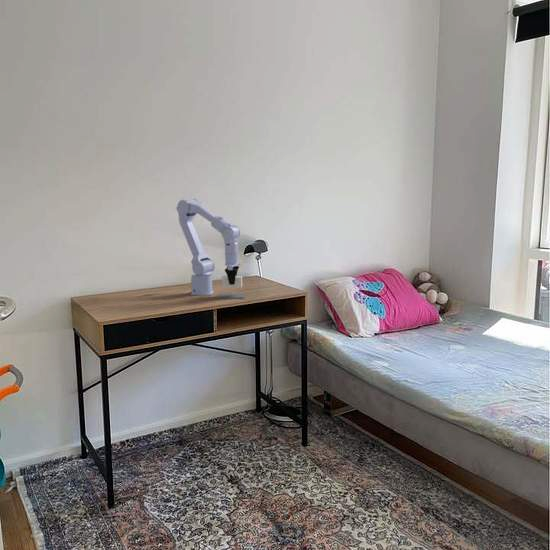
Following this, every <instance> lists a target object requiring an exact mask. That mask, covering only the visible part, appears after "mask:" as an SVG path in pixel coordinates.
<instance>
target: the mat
mask: <svg viewBox="0 0 550 550" xmlns="http://www.w3.org/2000/svg"><path fill="white" fill-rule="evenodd" d="M246 294H247V293H246V292H230V293H229V292H227V293H223V292H222V293H219V294H218V295H217V297H216V298H217V299H245V297H246Z"/></svg>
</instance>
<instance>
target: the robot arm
mask: <svg viewBox="0 0 550 550" xmlns="http://www.w3.org/2000/svg"><path fill="white" fill-rule="evenodd" d="M175 209H176V211H177V214H178V222H179V225H180V228H181V230H182V232H183V235H184V238H185V239H186V242H187V244H188V248H189V250H190V252H191V255H192V259H191V260H190V262H191V263H190V264H191V269H192V271H193V273H194V274H191V278H190V287H191V288H190V289H191V296H212V295H214V292H215V290H213V277H212V275H213V272H214V270H215V262H214V261H213V260H212V258H211V257H210V255H209V254H207V253H205V251H204V248H203V245H202V243H201V241H200V238H199V236H198V233H197V231H196V228H195V226H194V224H193V220H194V217H196V215H199V216H201V217H202V218H203V219H206V220H207V221H208V222H210V226H211V227H212V228H213V229H214V230H216V231H217V232H218V233H220V234H221V237H222V238H223V240H224V241H223V243H224V252H225V253H224V256H225V257H224V258H225V259H224V260H225V263H224V266H225V267H226V268H224V272H225V273H226V276H228V280H229V284H230V285H232V284H234V283H235V276H238V271H239V268H240V265H242V262H239V242H238V239H239V237H240V234H241V230H240V228H239V227H238V226H237V225H232V223H231V222H228V221H227V220H226V219H225V218H224V217H223V216H220V215H217V216H216V215H215V214H213V213H212V212H211V211H210V210H209V209H208V208H207V207H205V205H203V203H202V202H201V201H199V199H196V198H192V199H180V200H179V201H178V203H177V205H176V208H175Z"/></svg>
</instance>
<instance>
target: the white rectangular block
mask: <svg viewBox="0 0 550 550" xmlns="http://www.w3.org/2000/svg"><path fill="white" fill-rule="evenodd" d="M221 280H222V281H221V284H222V285H221V286H222V287H221V288H222V289H225V288H226V289H227V288H229V289H230V288H231V289H232V288H233V289H234V288H236V289H237V288H243V275H237V276H235V283H234V284H232V285H230V284H229V280H228V276H227V275H223V276H222V278H221Z"/></svg>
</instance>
